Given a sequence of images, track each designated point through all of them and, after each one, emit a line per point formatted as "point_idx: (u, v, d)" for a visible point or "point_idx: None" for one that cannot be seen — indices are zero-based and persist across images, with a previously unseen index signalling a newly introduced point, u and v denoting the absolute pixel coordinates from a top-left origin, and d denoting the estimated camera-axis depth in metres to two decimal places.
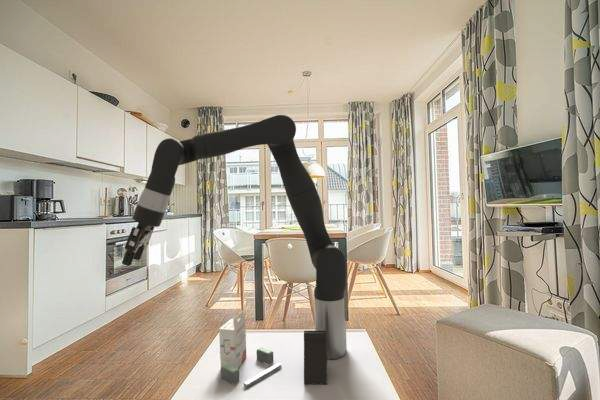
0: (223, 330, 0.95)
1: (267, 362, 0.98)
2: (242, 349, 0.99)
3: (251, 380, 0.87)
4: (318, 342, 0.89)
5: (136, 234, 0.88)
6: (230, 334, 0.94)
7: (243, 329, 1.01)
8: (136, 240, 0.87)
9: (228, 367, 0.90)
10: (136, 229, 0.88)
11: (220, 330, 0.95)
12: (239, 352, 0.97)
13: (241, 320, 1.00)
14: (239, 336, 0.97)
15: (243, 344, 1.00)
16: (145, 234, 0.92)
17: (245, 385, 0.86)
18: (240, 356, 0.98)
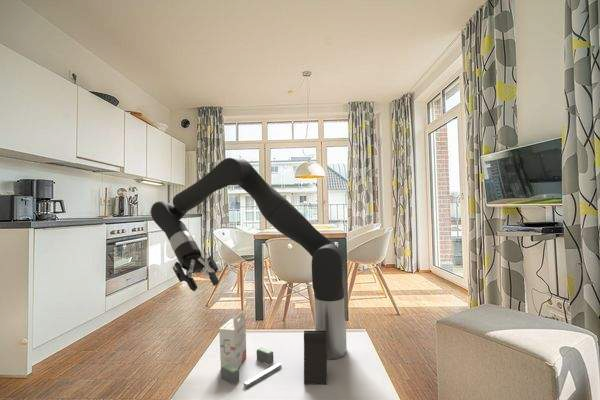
0: (223, 329, 0.95)
1: (267, 362, 0.98)
2: (242, 349, 0.99)
3: (251, 380, 0.87)
4: (318, 342, 0.89)
5: (175, 267, 1.05)
6: (230, 334, 0.94)
7: (244, 329, 1.01)
8: (178, 270, 1.04)
9: (228, 367, 0.90)
10: (174, 265, 1.06)
11: (220, 330, 0.95)
12: (239, 352, 0.97)
13: (241, 320, 1.00)
14: (239, 336, 0.97)
15: (243, 344, 1.00)
16: (190, 262, 1.08)
17: (245, 385, 0.86)
18: (241, 356, 0.98)
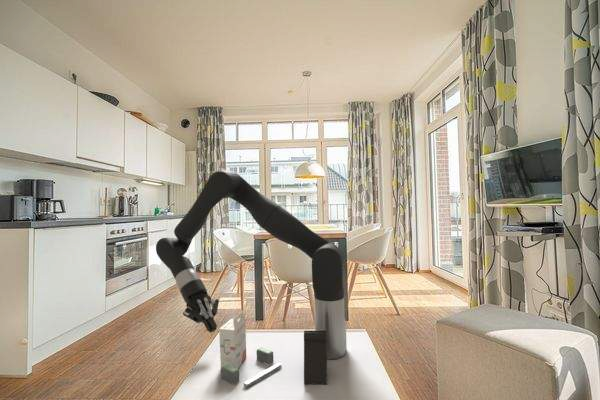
0: (223, 330, 0.95)
1: (267, 362, 0.98)
2: (242, 349, 0.99)
3: (251, 380, 0.87)
4: (318, 342, 0.89)
5: (188, 313, 1.04)
6: (230, 334, 0.94)
7: (244, 329, 1.01)
8: (193, 315, 1.04)
9: (228, 367, 0.90)
10: (184, 312, 1.04)
11: (220, 330, 0.95)
12: (239, 352, 0.97)
13: (241, 320, 1.00)
14: (239, 336, 0.97)
15: (243, 344, 1.00)
16: (197, 304, 1.07)
17: (245, 385, 0.86)
18: (240, 356, 0.98)
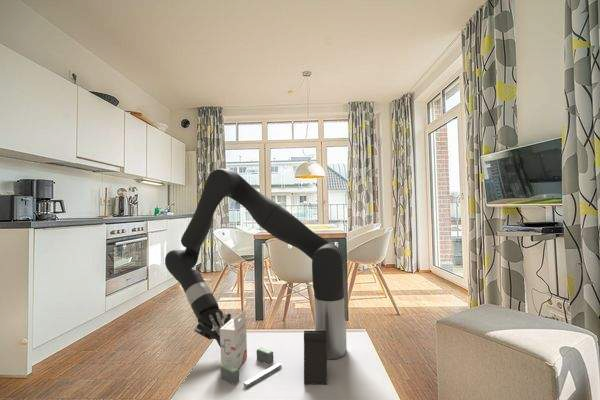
0: (224, 330, 0.95)
1: (267, 362, 0.98)
2: (243, 349, 0.99)
3: (251, 380, 0.87)
4: (318, 342, 0.89)
5: (200, 330, 1.00)
6: (231, 334, 0.94)
7: (244, 329, 1.01)
8: (205, 331, 1.00)
9: (228, 367, 0.90)
10: (196, 328, 1.00)
11: (221, 330, 0.95)
12: (240, 352, 0.97)
13: (242, 320, 0.99)
14: (239, 336, 0.97)
15: (244, 344, 1.00)
16: (209, 319, 1.03)
17: (245, 385, 0.86)
18: (241, 356, 0.98)
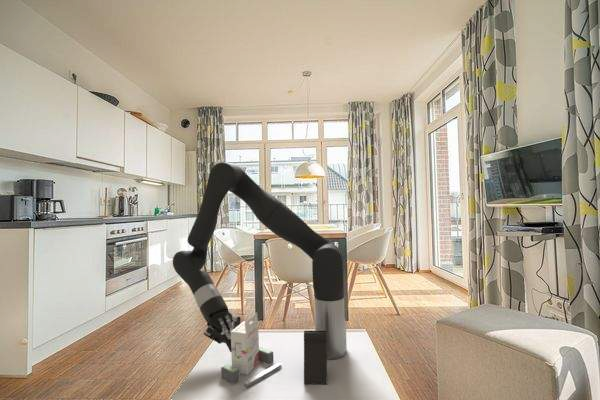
0: (235, 332, 0.93)
1: (267, 362, 0.98)
2: (254, 353, 0.97)
3: (251, 380, 0.87)
4: (318, 342, 0.89)
5: (209, 334, 0.97)
6: (242, 337, 0.92)
7: (256, 332, 0.98)
8: (215, 335, 0.97)
9: (228, 367, 0.90)
10: (205, 332, 0.97)
11: (231, 333, 0.93)
12: (251, 356, 0.94)
13: (253, 323, 0.97)
14: (251, 340, 0.94)
15: (255, 348, 0.97)
16: (219, 323, 1.00)
17: (245, 385, 0.86)
18: (252, 360, 0.95)
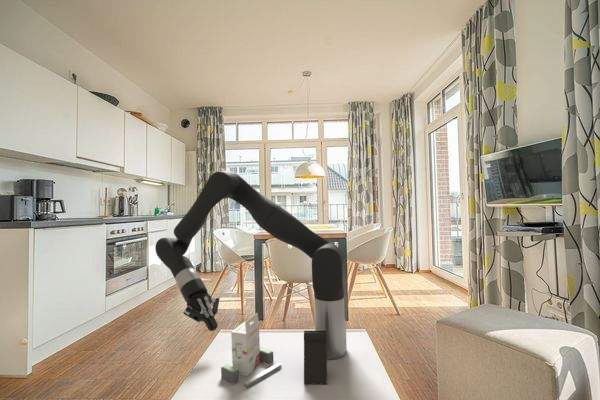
0: (235, 333, 0.92)
1: (267, 362, 0.98)
2: (255, 353, 0.96)
3: (251, 380, 0.87)
4: (318, 342, 0.89)
5: (188, 312, 1.04)
6: (242, 337, 0.92)
7: (257, 333, 0.98)
8: (193, 314, 1.04)
9: (228, 367, 0.90)
10: (184, 311, 1.04)
11: (232, 333, 0.93)
12: (252, 356, 0.94)
13: (254, 323, 0.97)
14: (251, 340, 0.94)
15: (256, 348, 0.97)
16: (198, 303, 1.07)
17: (245, 385, 0.86)
18: (253, 361, 0.95)
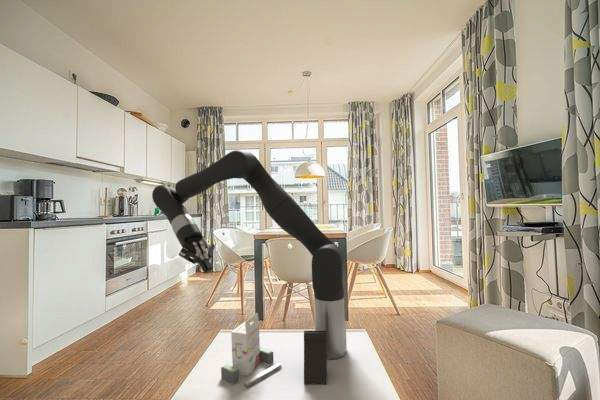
0: (235, 333, 0.92)
1: (267, 362, 0.98)
2: (255, 353, 0.96)
3: (251, 380, 0.87)
4: (318, 342, 0.89)
5: (184, 254, 1.05)
6: (242, 337, 0.92)
7: (257, 333, 0.98)
8: (188, 255, 1.05)
9: (228, 367, 0.90)
10: (180, 252, 1.05)
11: (232, 333, 0.93)
12: (252, 356, 0.94)
13: (254, 323, 0.97)
14: (251, 340, 0.94)
15: (256, 348, 0.97)
16: (193, 246, 1.08)
17: (245, 385, 0.86)
18: (253, 361, 0.95)
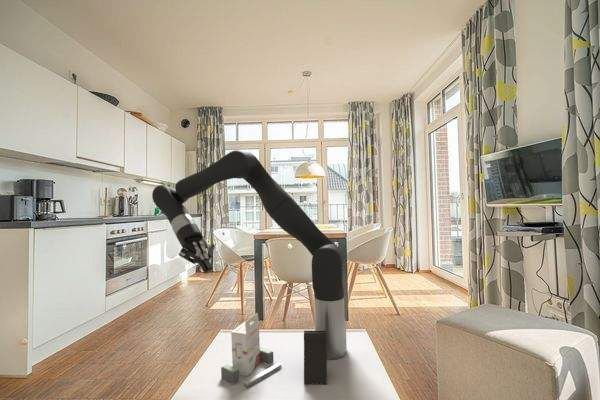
0: (235, 333, 0.92)
1: (267, 362, 0.98)
2: (255, 353, 0.96)
3: (251, 380, 0.87)
4: (318, 342, 0.89)
5: (184, 254, 1.05)
6: (242, 337, 0.92)
7: (257, 333, 0.98)
8: (188, 255, 1.05)
9: (228, 367, 0.90)
10: (180, 252, 1.05)
11: (232, 333, 0.93)
12: (252, 356, 0.94)
13: (254, 323, 0.97)
14: (251, 340, 0.94)
15: (256, 348, 0.97)
16: (193, 246, 1.08)
17: (245, 385, 0.86)
18: (253, 361, 0.95)
